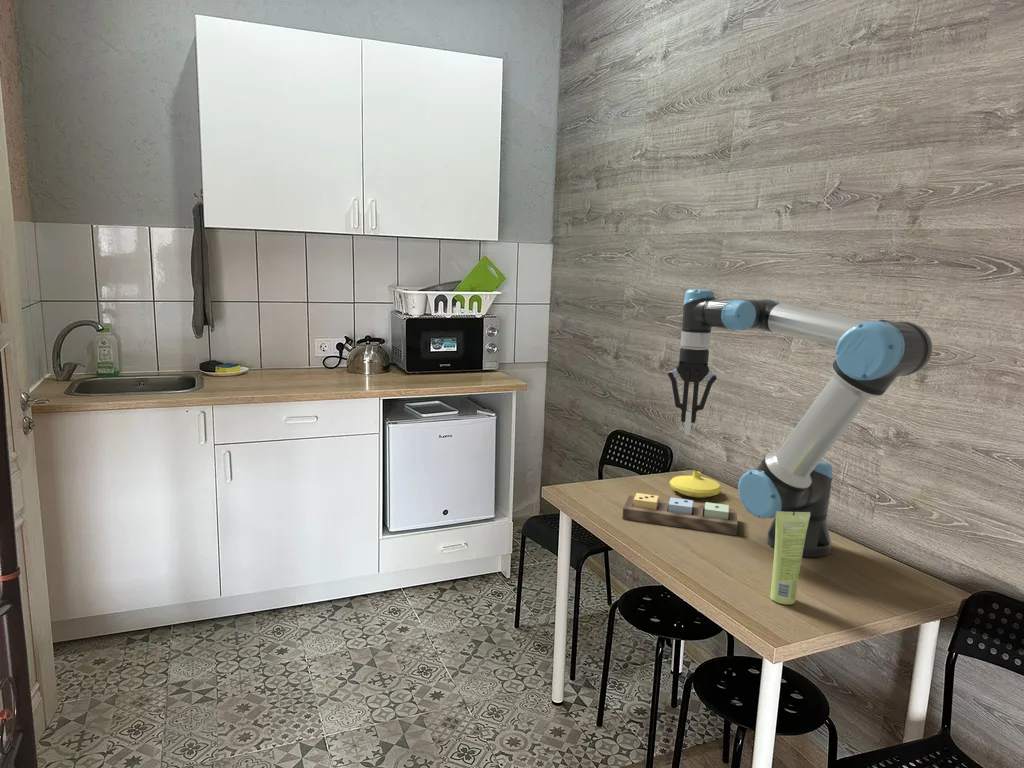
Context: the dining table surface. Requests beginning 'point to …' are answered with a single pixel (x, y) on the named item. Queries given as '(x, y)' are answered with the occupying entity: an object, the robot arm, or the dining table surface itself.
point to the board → (681, 517)
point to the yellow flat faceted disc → (695, 485)
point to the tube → (788, 554)
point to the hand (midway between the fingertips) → (687, 433)
